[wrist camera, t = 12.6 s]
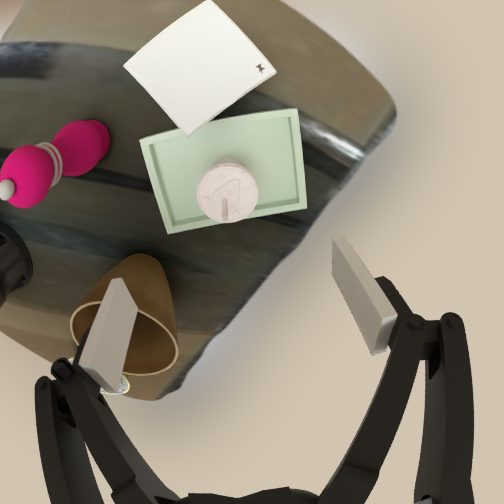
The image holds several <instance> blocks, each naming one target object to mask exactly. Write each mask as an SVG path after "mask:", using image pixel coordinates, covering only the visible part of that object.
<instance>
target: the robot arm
mask: <svg viewBox="0 0 504 504" xmlns="http://www.w3.org/2000/svg"><path fill="white" fill-rule="evenodd" d="M332 251H333V252H332V253H333V255H332V256H333V257H332V275H333V277H334V279H335V281H336V283H337V285H338V287H339V289H340V291H341V293H342V295H343V297H344V299H345V301H346V302H347V305H348V307H349V309H350V311H351V313H352V315H353V317H354V319H355V321H356V323H357V325H358V327H359V329H360V331H361V333H362V335H363V338H364V340H365V342H366V344H367V346H368V348H369V350H370V353H371V355H372V356H373V355H376V354H379V353H382V352H385V351H386V348H387V345H388V346H389V347H390V349H391V352H390V355H389V357H388V360H387V364H386V367H385V369H384V372H383V374H382V377H381V379H380V382H379V385H378V387H377V390H376V392H375V394H374V397H373V399H372V401H371V404H370V406H369V408H368V410H367V413H366V415H365V417H364V419H363V421H362V423H361V426H360V427H359V429H358V431H357V433H356V436H355V437H354V439H353V441H352V443H351V445H350V447H349V449H348V450H347V453H346V454H345V456H344V458H343V460H342V461H341V463H340V465H339V466H338V468H337V470H336V471H335V473H334V474H333V476H332V478H331V479H330V481H329V482H328V484H327V485H326V487H325V488H324V490H323V491H322V493H321V494H320V496H317V495H316V494H314V493H311V492H309V491H305V490H300V489H290V488H289V487H283V488H276V489H269V490H262V491H260V492H257V493H254V494H250V495H247V496H244V497H241V498H233V497H227V496H222V495H217V494H212V493H210V494H206V493H204V494H200V493H198V494H197V493H188V497H185V498H182V499H180V498H179V497H178V496H177V495H176V494H175V493H174V492H172V491H171V490H170V489H168V488H167V487H166V486H165V485H164V484H163V483H162V481H161V480H160V479H159V478H158V477H157V476H156V474H155V473H154V472H153V470H152V469H151V468H150V467H149V465H148V464H147V463H146V461H145V460H144V459H143V457H142V456H141V455H140V453H139V452H138V451H137V449H136V448H135V446H134V445H133V443H132V442H131V441H130V439H129V438H128V436H127V435H126V433H125V432H124V430H123V429H122V427H121V425H120V424H119V422H118V421H117V419H116V417H115V416H114V414H113V413H112V411H111V409H110V408H109V406H108V404H107V402H106V401H105V399H104V397H103V395H102V394H101V393H100V390H101V388H102V389H103V390H104V391H105V392H107V393H118V390H119V385H120V380H121V376H122V371H123V366H124V362H125V358H126V354H127V349H128V345H129V341H130V337H131V334H132V330H133V326H134V322H135V319H136V315H137V311H138V307H137V306H136V304H135V302H134V300H133V298H132V297H131V295H130V293H129V291H128V289H127V287H126V285H125V283H124V281H123V279H122V278H116V279H112V280H111V282H110V284H109V287H108V289H107V291H106V293H105V296H104V298H103V300H102V303H101V305H100V307H99V310H98V312H97V315H96V317H95V320H94V322H93V325H92V327H88V328H87V330H86V331H85V332H84V334H83V336H82V338H81V342H80V344H79V346H78V347H79V348H78V349H77V352H76V355H75V357H74V360H73V363H72V364H71V363H70V362H69V361H68V360H67V358H64V357H63V358H59V359H57V360H56V361H55V362H54V363H53V365H52V367H51V374H52V375H53V376H54V377H55V378H56V380H51V379H49V378H48V377H47V376H42V377H40V378H39V379H38V380H37V382H36V384H35V412H36V426H37V434H38V442H39V450H40V457H41V462H42V467H43V472H44V478H45V482H46V486H47V490H48V494H49V498H50V501H51V504H104V502H103V499H102V497H101V494H100V491H99V489H98V486H97V483H96V480H95V477H94V474H93V471H92V467H91V464H90V461H89V457H88V453H87V449H86V446H85V443H86V445H87V447H88V449H89V451H90V452H91V455H92V456H93V458H94V460H95V462H96V464H97V465H98V467H99V469H100V471H101V472H102V474H103V475H104V477H105V479H106V480H107V482H108V484H109V485H110V487H111V488H112V491H113V492H112V494H111V497H112V499H113V501H114V503H115V504H364V503H365V501H366V500H367V498H368V496H369V495H370V493H371V491H372V489H373V487H374V485H375V484H376V481H377V479H378V477H379V471H380V468H381V466H382V464H383V462H384V459H385V458H386V455H387V453H388V451H389V448H390V447H391V444H392V442H393V440H394V437H395V435H396V432H397V430H398V427H399V424H400V422H401V419H402V416H403V414H404V411H405V408H406V405H407V402H408V399H409V396H410V393H411V390H412V387H413V383H414V379H415V376H416V373H417V369H418V365H419V361H420V360H425V371H426V372H425V373H426V374H425V377H426V378H425V387H426V388H425V412H424V426H423V437H422V445H421V453H420V461H419V466H418V472H417V477H416V483H415V490H414V504H475V503H474V496H473V490H472V485H471V480H470V477H471V469H472V458H473V443H474V404H473V386H472V376H471V367H470V358H469V351H468V345H467V339H466V333H465V328H464V323H463V321H462V318H461V317H460V316H459V315H457V314H455V313H452V312H448V313H445V314H444V315H443V316H442V317H441V319H440V320H431V321H428V320H425V319H424V318H423V317H421V316H420V315H417V314H413V313H412V311H411V310H410V308H409V307H408V305H407V304H406V302H405V301H404V299H403V298H402V296H401V295H400V294H399V292H398V290H396V288H395V286H394V285H393V283H392V282H391V281H390V280H388V279H387V278H385V277H384V276H382V277H378V278H374V277H373V276H372V274H371V273H370V271H369V270H368V269H367V267H366V266H365V264H364V263H363V261H362V260H361V258H360V257H359V256H358V254H357V253H356V251H355V250H354V249H353V247H352V246H351V244H350V243H349V242H348V240H347V239H346V238H345V237H344V236H343V237H337V238H333V250H332ZM31 276H32V262H31V258H30V255H29V253H28V251H27V249H26V247H25V245H24V243H23V242H22V240H21V239H20V237H19V236H18V235H17V234H16V233H15V232H14V231H13V230H12V229H11V228H10V227H8V226H7V225H5V224H2V223H0V308H1V307H2V305H3V304H4V302H5V301H6V299H8V298H9V297H11V296H12V295H14V294H15V293H17V292H18V291H20V290H21V289H23V288H24V287H25V286H26V284H27V283H28V281H29V280H30V278H31ZM84 441H85V442H84Z"/></svg>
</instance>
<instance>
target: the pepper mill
mask: <svg viewBox="0 0 504 504" xmlns="http://www.w3.org/2000/svg"><path fill="white" fill-rule="evenodd" d="M109 144H110V136H109V132H108V130H107V128H106V127H105V126H104V125H103V124H102V123H101V122H99V121H96V120H89V121H82V120H78V121H74V122H71V123H69V124H67V125H66V126H64V127H63V128H62V129H61V130H60V131H59V132H58V133H57V134H56V136H55V137H54V139H53V141H52V142H51V143H46V142H43V143H39V144H37V145H35V146H33V145H25V146H21V147H19V148H17V149H16V150H14V151H13V152H12V153H11V154H10V155H9V156H8V157H7V159H6V160H5V162H4V164H3V166H2V169H1V174H0V198H1V199H2V200H8V202H9V203H11V204H12V205H14V206H16V207H18V208H30V207H32V206H34V205H36V204H38V203H39V202H41V201H42V200H43V199H44V197H45V196H46V195H47V193H48V191H49V189H50V188H51V187H52V186H54V185H55V184H56V183H57V182H58V181H59V179H60V177H61V176H62V175H67V176H78V175H82V174H84V173H86V172H88V171H90V170H91V169H92V168H93V167H94V166H95V165H96V164H97V162H98V161H99V160H100V159H101V158H103V157H104V156H105V154H106V153H107V151H108V148H109Z"/></svg>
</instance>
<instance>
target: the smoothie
mask: <svg viewBox="0 0 504 504" xmlns="http://www.w3.org/2000/svg"><path fill="white" fill-rule="evenodd" d="M257 201H258V185H257V182H256V180H255V178H254V176H253V175H252V174H251V172H250V171H249V170H247V169H246V168H244V167H243V166H241V165H240V164H239V163H238V161H237V160H236V159H234V158H232V157H222V158H220V159H218V160H217V161H216V162H215V164H214V165H213V166H212V167H211V168H210V169H208V170H207V171H206V172H205V173H204V174H203V175H202V177H201V178H200V180H199V183H198V186H197V202H198V205H199V207H200V209H201V210H202V211H203V213H204V214H205V215H206V216H208V217H209V218H211V219H212V220H215V221H218V222H222V223H232V222H237V221H239V220H242V219H244V218H245V217H247V216H248V215H249V214H250V213H251V212H252V211H253V209H254V208H255V206H256V204H257Z"/></svg>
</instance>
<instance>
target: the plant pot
mask: <svg viewBox="0 0 504 504" xmlns="http://www.w3.org/2000/svg"><path fill="white" fill-rule="evenodd" d="M116 278H122V279H123V281H124V283H125V285H126V287H127V289H128V291H129V293H130V295H131V297H132V298H133V300H134V302H135V304H136V306H137V307H138V311H137V315H136V319H135V322H134V326H133V330H132V334H131V337H130V341H129V345H128V349H127V354H126V358H125V362H124V366H123V371H122V373H124V374H130V375H152V374H157V373H160V372H163V371H165V370H167V369H169V368H170V367H171V366H172V365H173V364H174V363H175V361H176V359H177V357H178V341H177V330H176V321H175V313H174V307H173V302H172V297H171V292H170V288H169V285H168V281H167V278H166V275H165V272H164V269H163V267H162V265H161V264H160V262H159V261H158V260H157V259H155V258H154V257H152V256H150V255H147V254H143V253H137V254H133V255H131V256H129V257H127V258H126V259H124V260H122V261H121V262H120V263H118V264H117V265H116V266H114V267H113V268H112V269H111V270H109V271H108V272H107V273H106V274H105V275H104V276H103V277H102V278H101V279H100V280H99V281H98V282H97V283H96V284H95V285H94V286H93V288H92V289H91V290H90V291H89V292H88V294H87V295H86V296H85V297H84V299H83V300H82V301H81V303H80V304H79V306H78V307H77V308H76V310H75V311H74V313H73V314H72V317H71V320H70V330H71V334H72V336H73V338H74V340H75V342H76V344H77V345H78V346H79V344H80V342H81V338H82V336H83V334H84V332H85V331H86V330H87V328H88V327H92V325H93V322H94V320H95V317H96V315H97V312H98V310H99V307H100V305H101V303H102V300H103V298H104V296H105V293H106V291H107V289H108V287H109V284H110V282H111V280H112V279H116Z"/></svg>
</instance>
